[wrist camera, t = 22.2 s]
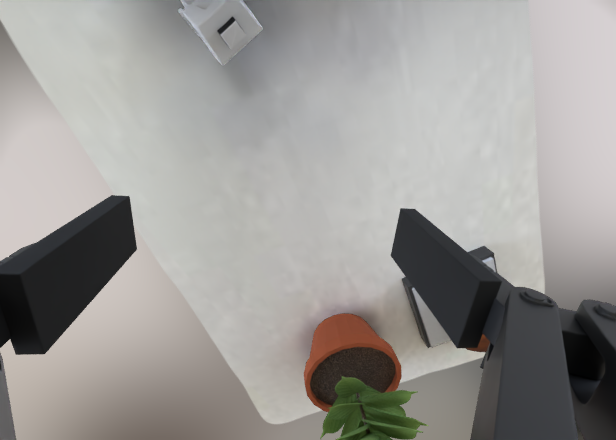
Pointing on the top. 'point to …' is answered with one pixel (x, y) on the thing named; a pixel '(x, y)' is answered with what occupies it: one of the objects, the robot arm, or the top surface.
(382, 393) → the potted plant
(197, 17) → the tape dispenser
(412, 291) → the scale
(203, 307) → the top surface
